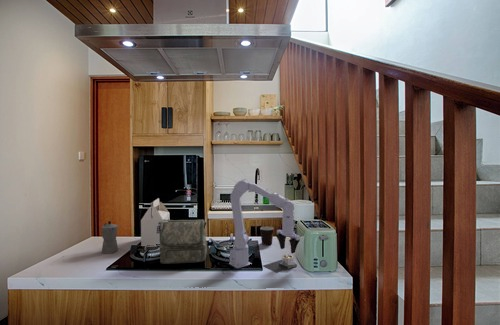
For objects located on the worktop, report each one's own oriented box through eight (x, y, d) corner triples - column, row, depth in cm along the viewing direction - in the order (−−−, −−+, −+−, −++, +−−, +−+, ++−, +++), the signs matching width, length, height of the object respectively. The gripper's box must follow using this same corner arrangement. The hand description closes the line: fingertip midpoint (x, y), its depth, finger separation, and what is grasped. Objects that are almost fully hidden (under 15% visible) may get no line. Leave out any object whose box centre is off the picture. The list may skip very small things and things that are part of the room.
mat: (276, 273, 135) (276, 273, 135) (262, 266, 144) (262, 265, 144) (296, 266, 143) (296, 266, 143) (281, 260, 152) (281, 259, 152)
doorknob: (287, 269, 139) (287, 260, 139) (278, 265, 144) (278, 256, 144) (296, 266, 143) (297, 257, 143) (287, 262, 148) (287, 253, 148)
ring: (287, 266, 140) (287, 259, 140) (280, 263, 144) (280, 256, 144) (295, 263, 143) (295, 256, 143) (288, 260, 148) (288, 253, 147)
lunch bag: (154, 265, 145) (154, 223, 144) (163, 253, 163) (162, 216, 162) (205, 264, 147) (205, 222, 146) (208, 252, 165) (208, 215, 164)
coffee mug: (268, 246, 175) (268, 230, 174) (257, 244, 180) (257, 228, 179) (278, 242, 184) (278, 227, 184) (267, 239, 189) (267, 225, 189)
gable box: (150, 237, 194) (149, 197, 194) (169, 237, 196) (169, 197, 195) (141, 248, 172) (140, 202, 172) (163, 247, 174) (162, 202, 173)
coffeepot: (122, 252, 165) (121, 221, 164) (104, 256, 158) (104, 224, 158) (113, 246, 176) (112, 217, 176) (96, 249, 169) (96, 220, 169)
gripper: (304, 226, 140) (303, 253, 140) (283, 220, 151) (283, 245, 152) (294, 228, 135) (293, 256, 136) (273, 222, 147) (273, 248, 147)
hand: (287, 250), depth 143 cm, fingers open, 7 cm apart
